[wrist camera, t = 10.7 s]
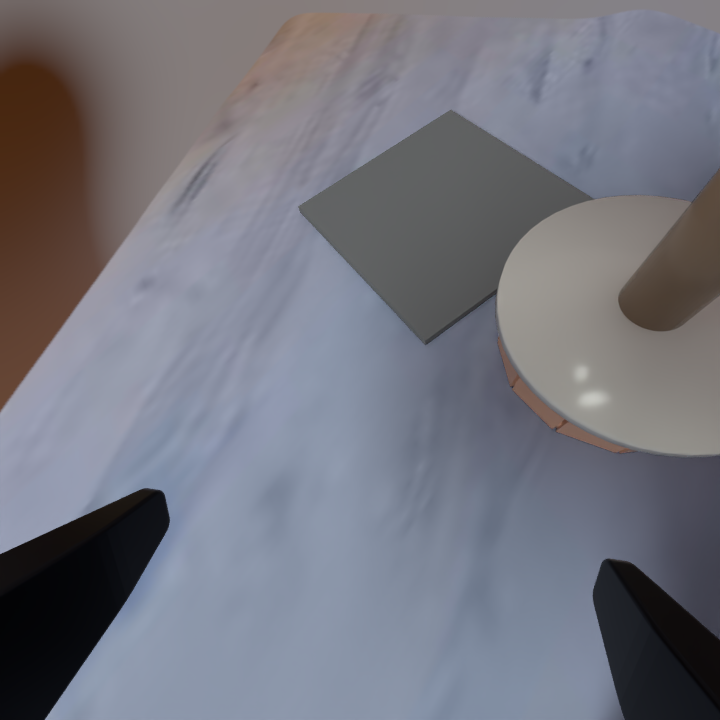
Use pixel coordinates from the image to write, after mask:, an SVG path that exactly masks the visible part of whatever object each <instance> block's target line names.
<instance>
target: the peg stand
mask: <svg viewBox="0 0 720 720" xmlns="http://www.w3.org/2000/svg"><path fill="white" fill-rule="evenodd" d="M495 318H496V324H497V330H498V334H499V337H500V340H501V343H502V346H503V349H504V351H505V353H506V355H507V357H508V359H509V361H510V363H511V365H512V366H513V368H514V369H515V371H516V372H517V374H518V375H519V377H520V378H521V379H522V381H523V382H524V383H525V384H526V385H527V386H528V388H529V389H530V390H531V391H532V392H533V393H534V394H535V395H536V396H537V397H538V398H539V399H540V400H541V401H542V402H543V403H545V404H546V405H547V406H548V407H549V408H550V409H552V410H553V411H554V412H556V413H557V414H558V415H560V416H561V417H562V418H564V419H565V420H567V421H568V422H570V423H572V424H573V425H575V426H577V427H578V428H580V429H582V430H584V431H585V432H587V433H589V434H592V435H594V436H596V437H598V438H601V439H603V440H605V441H607V442H610V443H613V444H616V445H619V446H622V447H625V448H628V449H631V450H635V451H640V452H644V453H649V454H654V455H660V456H670V457H680V458H692V457H711V456H718V455H720V168H719V169H718V171H717V172H716V173H715V174H714V176H713V177H712V178H711V179H710V181H709V182H708V183H707V184H706V185H705V187H704V188H703V189H702V190H701V192H700V193H699V194H698V195H697V197H696V198H695V199H694V200H693V201H692V202H689V201H685V200H681V199H674V198H667V197H661V196H645V195H628V196H614V197H605V198H600V199H595V200H590V201H586V202H583V203H579V204H576V205H573V206H570V207H568V208H565V209H563V210H561V211H558V212H556V213H554V214H553V215H551V216H549V217H547V218H546V219H544V220H542V221H541V222H540V223H538V224H537V225H536V226H534V227H533V228H532V229H531V230H530V231H529V232H528V233H527V234H526V235H525V236H524V237H523V238H522V239H521V240H520V241H519V242H518V244H517V245H516V246H515V248H514V249H513V250H512V252H511V254H510V256H509V258H508V259H507V261H506V263H505V266H504V269H503V272H502V275H501V278H500V282H499V285H498V288H497V294H496V301H495Z"/></svg>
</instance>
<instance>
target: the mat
mask: <svg viewBox="0 0 720 720" xmlns="http://www.w3.org/2000/svg"><path fill="white" fill-rule="evenodd" d="M590 200H595V199H593V198H591V197H590V196H588V195H586V194H585V193H583V192H582V191H580V190H578V189H577V188H575V187H574V186H572V185H570V184H569V183H567V182H566V181H564V180H562V179H561V178H559V177H558V176H556V175H554V174H553V173H551V172H550V171H548V170H546V169H545V168H543V167H542V166H540V165H538V164H537V163H535V162H534V161H532V160H530V159H529V158H527V157H526V156H524V155H522V154H521V153H519V152H518V151H516V150H514V149H513V148H511V147H509V146H508V145H506V144H505V143H503V142H501V141H500V140H498V139H497V138H495V137H493V136H492V135H490V134H489V133H487V132H485V131H484V130H482V129H481V128H479V127H477V126H476V125H474V124H473V123H471V122H469V121H468V120H466V119H465V118H463V117H461V116H460V115H458V114H457V113H455V112H453V111H452V110H450V111H448V112H447V113H445V114H443V115H442V116H440V117H439V118H437V119H435V120H434V121H432V122H431V123H429V124H428V125H426V126H424V127H423V128H421V129H420V130H418V131H417V132H415V133H413V134H412V135H410V136H409V137H407V138H406V139H404V140H402V141H401V142H399V143H398V144H396V145H395V146H393V147H391V148H390V149H388V150H387V151H385V152H383V153H382V154H380V155H379V156H377V157H376V158H374V159H372V160H371V161H369V162H368V163H366V164H365V165H363V166H361V167H360V168H358V169H357V170H355V171H354V172H352V173H350V174H349V175H347V176H346V177H344V178H343V179H341V180H339V181H338V182H336V183H335V184H333V185H331V186H330V187H328V188H327V189H325V190H324V191H322V192H320V193H319V194H317V195H316V196H314V197H313V198H311V199H309V200H308V201H306V202H305V203H303V204H302V205H300V206H298V207H299V210H300V212H301V213H302V214H303V216H304V217H305V218H306V219H307V220H308V221H309V222H310V223H311V224H312V225H313V226H314V227H315V228H316V229H317V230H318V231H319V233H320V234H321V235H322V236H323V237H324V238H325V239H326V240H327V241H328V242H329V243H330V244H331V245H332V246H333V247H334V249H335V250H336V251H337V252H338V253H339V254H340V255H341V256H342V257H343V258H344V259H345V260H346V261H347V262H348V263H349V264H350V266H351V267H352V268H353V269H354V270H355V271H356V272H357V273H358V274H359V275H360V276H361V277H362V278H363V279H364V280H365V281H366V283H367V284H368V285H369V286H370V287H371V288H372V289H373V290H374V291H375V292H376V293H377V294H378V295H379V296H380V297H381V298H382V300H383V301H384V302H385V303H386V304H387V305H388V306H389V307H390V308H391V309H392V310H393V311H394V312H395V313H396V314H397V315H398V317H399V318H400V319H401V320H402V321H403V322H404V323H405V324H406V325H407V326H408V327H409V328H410V329H411V330H412V331H413V332H414V334H415V335H416V336H417V337H418V338H419V339H420V340H421V341H422V342H423V343H424V344H425V345H426V344H428V343H429V342H430V341H432V340H433V339H434V338H436V337H437V336H438V335H440V334H441V333H443V332H444V331H445V330H447V329H448V328H449V327H451V326H452V325H454V324H455V323H456V322H458V321H459V320H460V319H462V318H463V317H464V316H466V315H467V314H469V313H470V312H471V311H473V310H474V309H475V308H477V307H478V306H480V305H481V304H482V303H484V302H485V301H486V300H488V299H489V298H490V297H492V296H493V295H495V294H496V293H497V288H498V285H499V282H500V278H501V275H502V272H503V269H504V266H505V263H506V261H507V259H508V258H509V256H510V254H511V252H512V250H513V249H514V248H515V246H516V245H517V244H518V242H519V241H520V240H521V239H522V238H523V237H524V236H525V235H526V234H527V233H528V232H529V231H530V230H531V229H532V228H533V227H534V226H536V225H537V224H538V223H540V222H541V221H542V220H544V219H546V218H547V217H549V216H551V215H553V214H554V213H556V212H558V211H561V210H563V209H565V208H568V207H570V206H573V205H576V204H579V203H583V202H586V201H590Z"/></svg>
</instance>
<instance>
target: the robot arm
mask: <svg viewBox="0 0 720 720" xmlns="http://www.w3.org/2000/svg"><path fill="white" fill-rule="evenodd" d="M169 523H170V517H169V512H168V508H167V503H166V498H165V495H164V493H163V492H162V491H160V490H156V489H149V488H144V489H141V490H139V491H137V492H134V493H132V494H130V495H128V496H126V497H123V498H121V499H119V500H117V501H115V502H113V503H110V504H108V505H106V506H104V507H102V508H100V509H97V510H95V511H93V512H91V513H89V514H87V515H84V516H82V517H80V518H78V519H76V520H74V521H71V522H69V523H67V524H65V525H63V526H61V527H58V528H56V529H54V530H52V531H50V532H48V533H45V534H43V535H41V536H39V537H37V538H34V539H32V540H30V541H28V542H26V543H24V544H21V545H19V546H17V547H15V548H13V549H11V550H8V551H6V552H4V553H2V554H0V720H45V719H46V717H47V716H48V714H49V713H50V711H51V710H52V708H53V707H54V705H55V704H56V703H57V701H58V700H59V698H60V697H61V695H62V694H63V692H64V691H65V690H66V688H67V687H68V685H69V684H70V682H71V681H72V679H73V678H74V676H75V675H76V674H77V672H78V671H79V669H80V668H81V666H82V665H83V663H84V662H85V661H86V659H87V658H88V656H89V655H90V653H91V652H92V650H93V649H94V647H95V646H96V645H97V643H98V642H99V640H100V639H101V637H102V636H103V634H104V633H105V631H106V630H107V629H108V627H109V626H110V624H111V623H112V621H113V620H114V618H115V617H116V616H117V614H118V613H119V611H120V610H121V608H122V607H123V605H124V604H125V602H126V601H127V599H128V597H129V596H130V594H131V592H132V591H133V589H134V587H135V586H136V584H137V582H138V580H139V579H140V577H141V575H142V574H143V572H144V570H145V568H146V567H147V565H148V563H149V561H150V560H151V558H152V556H153V554H154V553H155V551H156V549H157V547H158V546H159V544H160V542H161V540H162V539H163V537H164V535H165V533H166V532H167V530H168V527H169ZM593 602H594V607H595V611H596V615H597V619H598V623H599V626H600V630H601V634H602V638H603V642H604V646H605V650H606V654H607V658H608V662H609V666H610V670H611V674H612V678H613V681H614V685H615V689H616V693H617V696H618V700H619V703H620V706H621V710H622V713H623V716H624V719H625V720H720V640H719V639H718V638H717V637H716V636H715V635H714V634H713V633H711V632H710V631H709V630H708V629H707V628H706V627H705V626H703V625H702V624H701V623H700V622H699V621H698V620H697V619H695V618H694V617H693V616H692V615H691V614H690V613H689V612H688V611H686V610H685V609H684V608H683V607H682V606H681V605H680V604H678V603H677V602H676V601H675V600H674V599H673V598H672V597H670V596H669V595H668V594H667V593H666V592H665V591H664V590H662V589H661V588H660V587H659V586H658V585H657V584H656V583H654V582H653V581H652V580H651V579H650V578H649V577H648V576H646V575H645V574H644V573H643V572H642V571H641V570H640V569H639V568H637V567H636V566H635V565H634V564H632V563H630V562H628V561H622V560H615V559H605V560H604V561H603V562H602V564H601V567H600V570H599V573H598V576H597V580H596V583H595V586H594V589H593Z"/></svg>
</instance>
